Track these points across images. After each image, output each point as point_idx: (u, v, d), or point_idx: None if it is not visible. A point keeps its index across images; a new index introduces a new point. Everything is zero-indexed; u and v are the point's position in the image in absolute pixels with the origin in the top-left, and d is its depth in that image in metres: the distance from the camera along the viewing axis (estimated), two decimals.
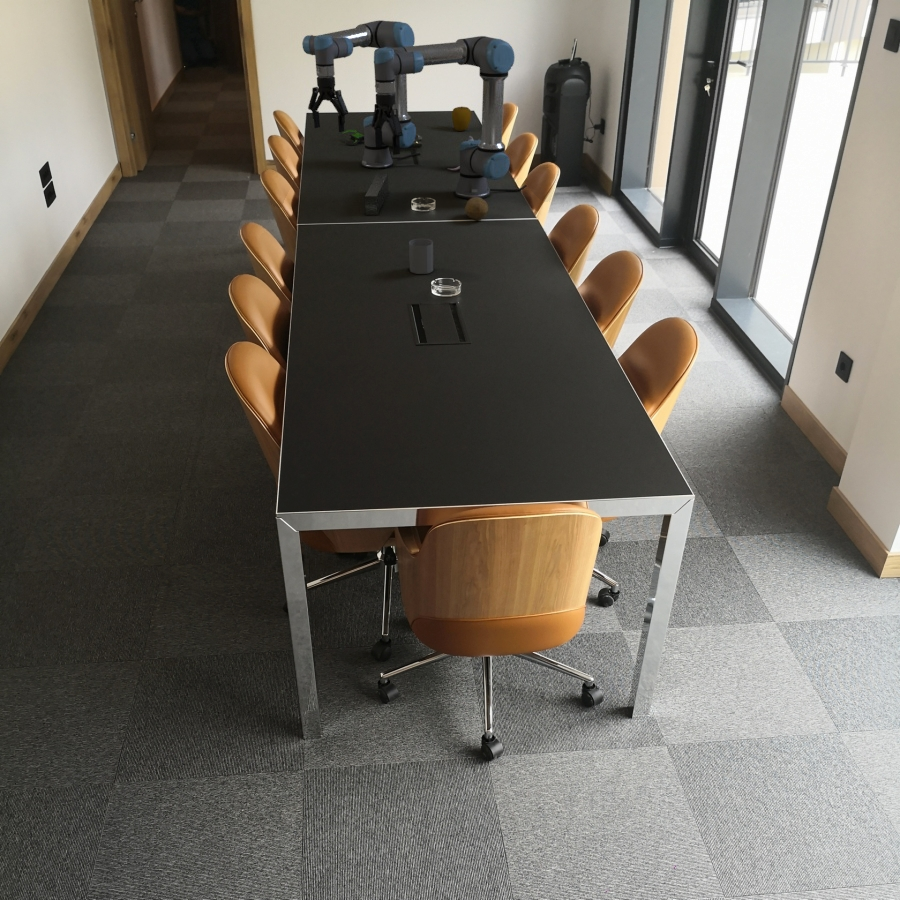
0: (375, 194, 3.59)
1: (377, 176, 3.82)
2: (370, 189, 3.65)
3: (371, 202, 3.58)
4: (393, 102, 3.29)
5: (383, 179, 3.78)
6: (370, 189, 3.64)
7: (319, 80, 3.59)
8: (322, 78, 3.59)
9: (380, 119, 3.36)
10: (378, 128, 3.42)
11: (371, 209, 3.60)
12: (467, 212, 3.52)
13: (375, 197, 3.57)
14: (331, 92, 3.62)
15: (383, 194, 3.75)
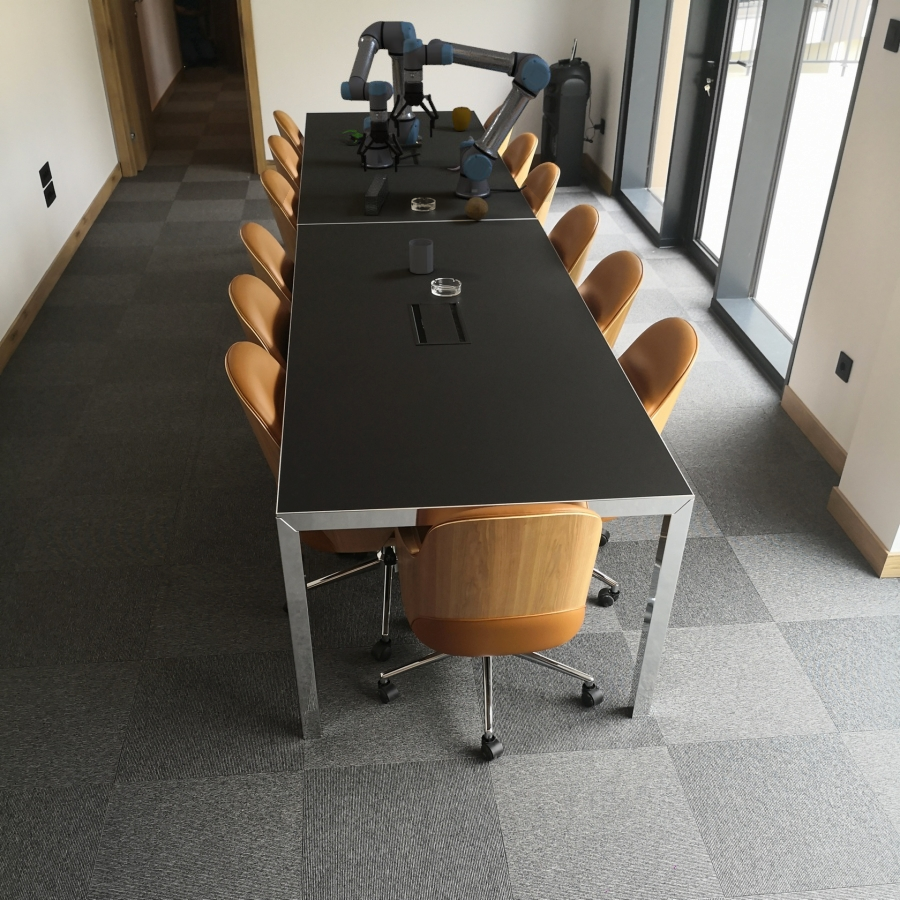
0: (375, 194, 3.59)
1: (377, 176, 3.82)
2: (370, 189, 3.65)
3: (371, 202, 3.58)
4: None
5: (383, 179, 3.78)
6: (370, 189, 3.64)
7: (376, 125, 3.67)
8: (380, 122, 3.67)
9: None
10: None
11: (371, 209, 3.60)
12: (467, 212, 3.52)
13: (375, 197, 3.57)
14: (387, 135, 3.71)
15: (383, 194, 3.75)
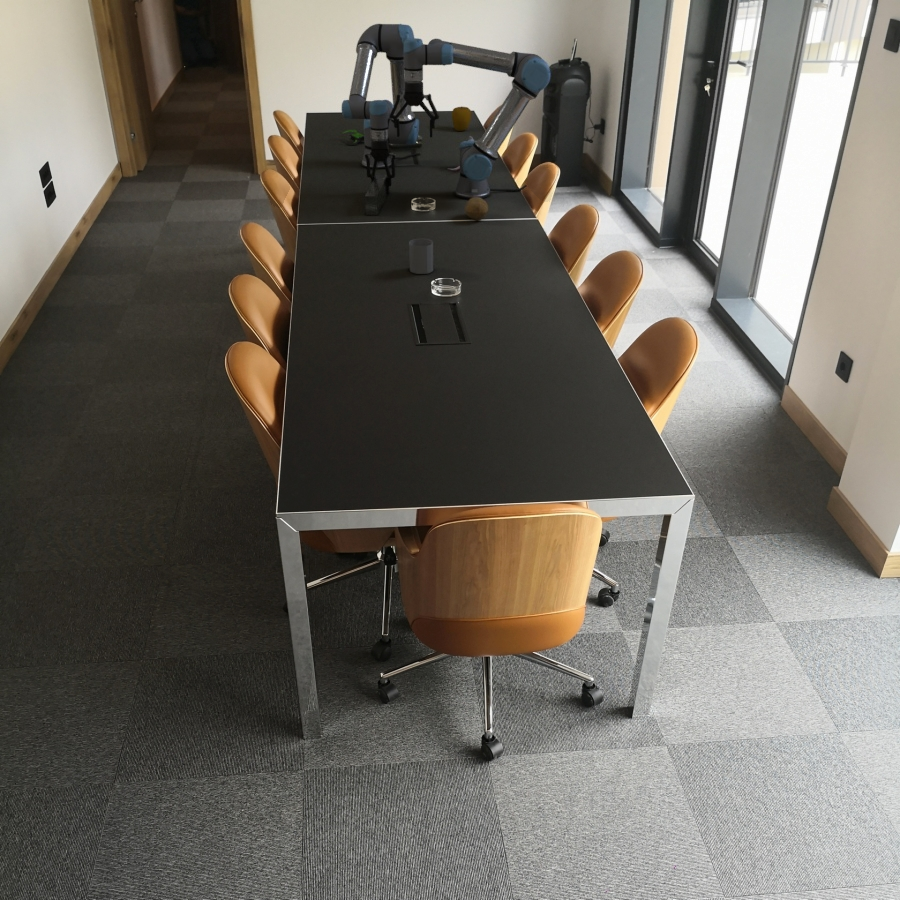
0: (375, 194, 3.59)
1: (377, 176, 3.82)
2: (370, 189, 3.65)
3: (371, 202, 3.58)
4: None
5: (383, 179, 3.78)
6: (370, 189, 3.64)
7: (377, 143, 3.71)
8: (380, 141, 3.71)
9: None
10: None
11: (371, 209, 3.60)
12: (467, 212, 3.52)
13: (375, 197, 3.57)
14: (387, 153, 3.75)
15: (383, 194, 3.75)
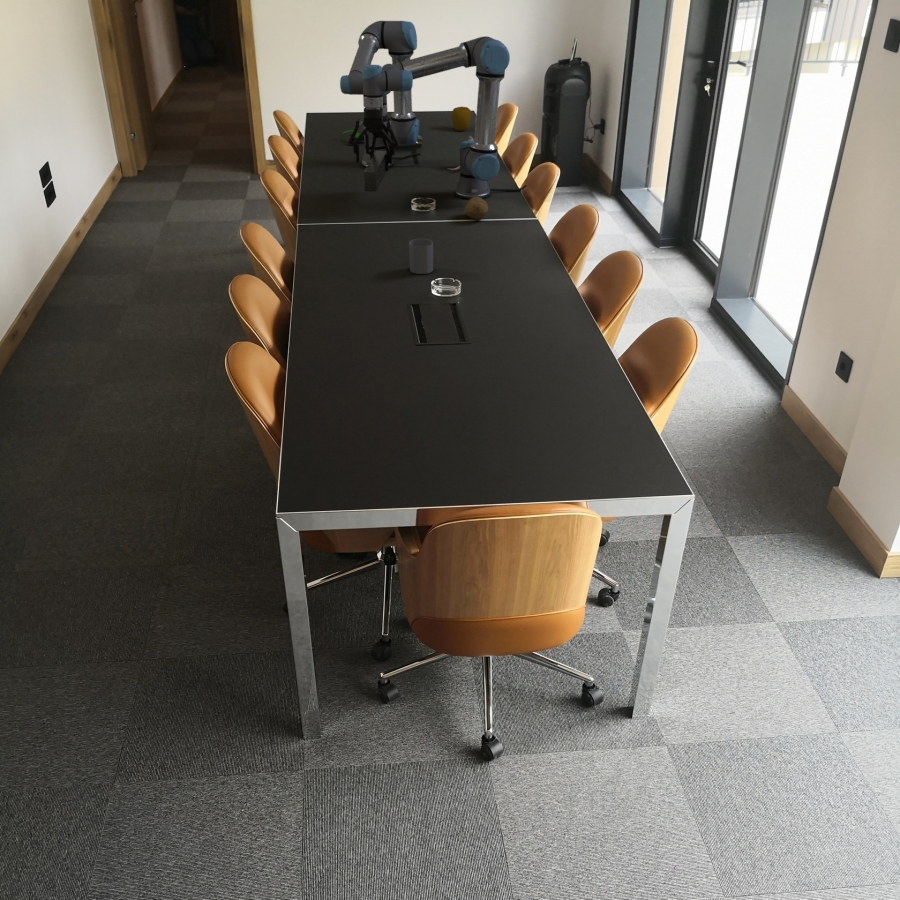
0: (374, 170, 3.53)
1: (376, 153, 3.76)
2: (369, 165, 3.59)
3: (370, 178, 3.53)
4: None
5: (382, 156, 3.72)
6: (369, 165, 3.59)
7: None
8: None
9: None
10: (356, 143, 3.51)
11: (370, 185, 3.54)
12: (467, 212, 3.52)
13: (374, 173, 3.52)
14: (387, 129, 3.70)
15: (382, 171, 3.70)
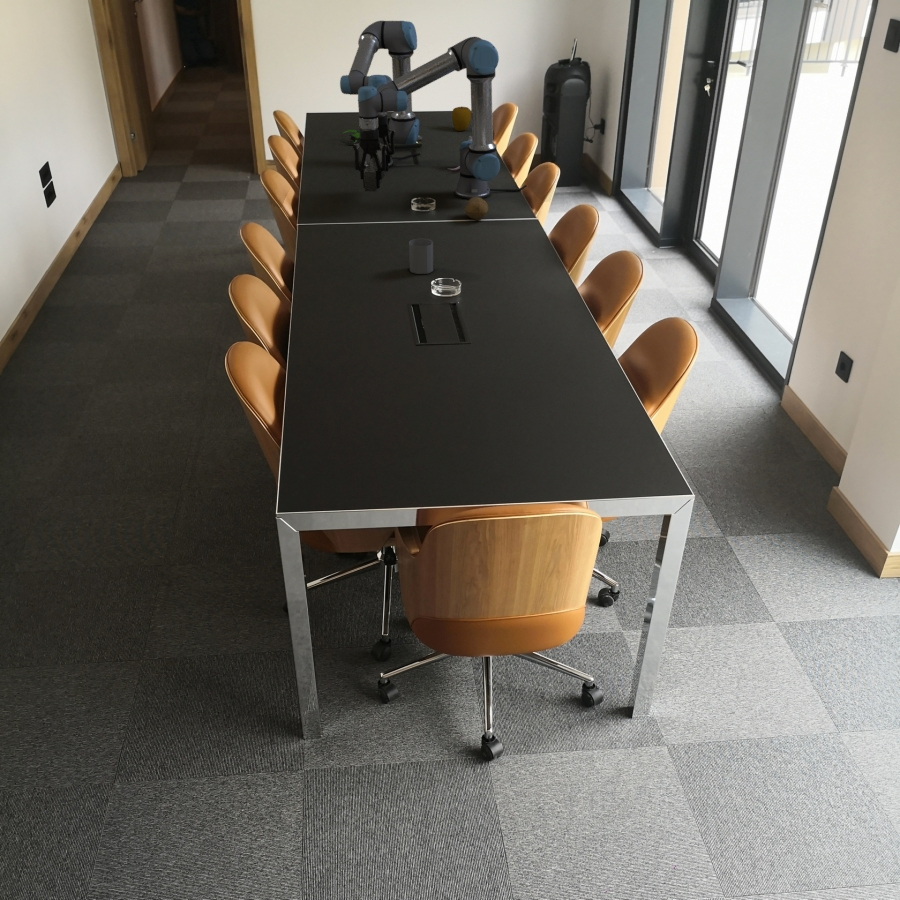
0: (374, 170, 3.53)
1: None
2: (369, 165, 3.59)
3: (370, 178, 3.53)
4: None
5: None
6: (369, 165, 3.59)
7: None
8: (379, 117, 3.65)
9: (365, 156, 3.51)
10: (363, 169, 3.55)
11: (370, 185, 3.54)
12: (467, 212, 3.52)
13: (374, 173, 3.52)
14: (387, 129, 3.70)
15: (382, 171, 3.70)
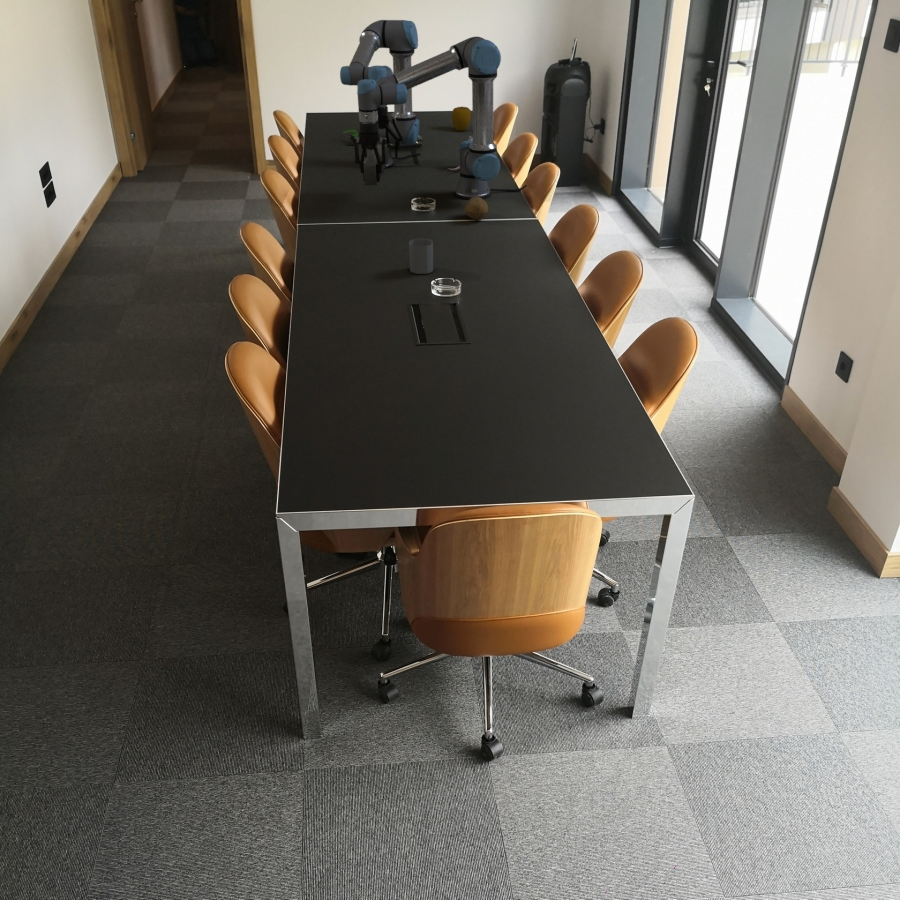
0: (374, 163, 3.52)
1: None
2: (369, 159, 3.58)
3: (370, 171, 3.51)
4: None
5: None
6: (369, 159, 3.58)
7: None
8: (380, 108, 3.65)
9: (365, 150, 3.50)
10: (363, 162, 3.53)
11: (370, 179, 3.53)
12: (467, 212, 3.52)
13: (374, 166, 3.50)
14: (387, 120, 3.69)
15: (382, 164, 3.68)
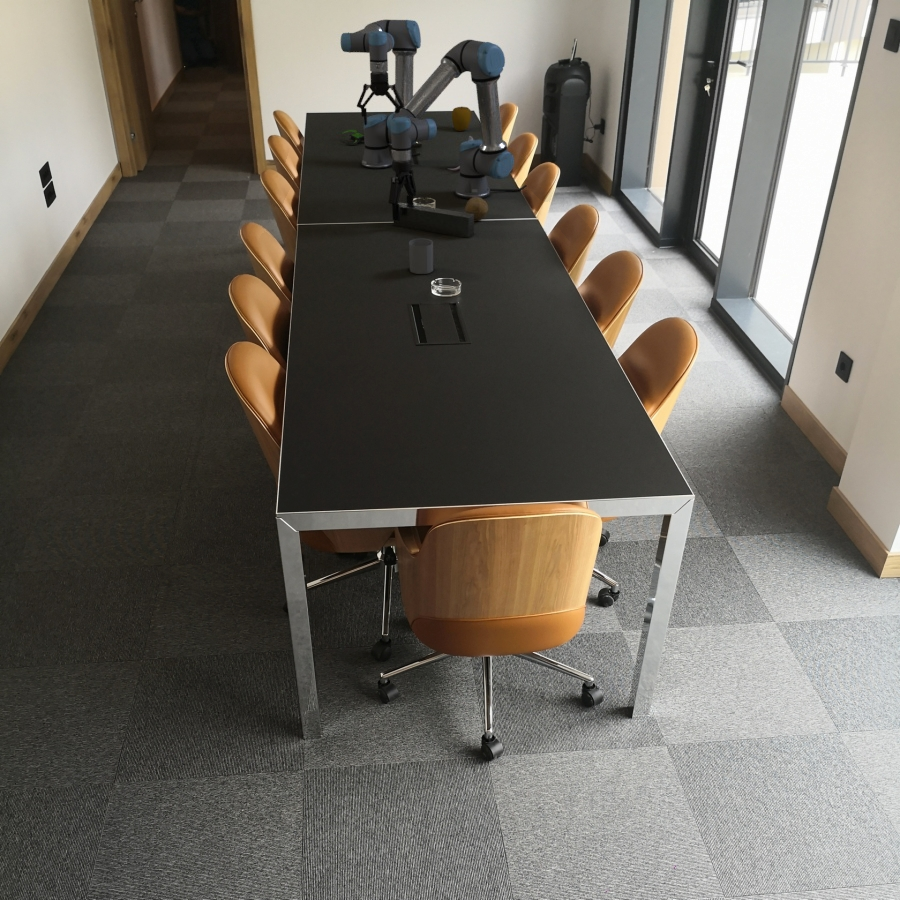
0: (399, 206, 3.45)
1: (463, 213, 3.38)
2: (418, 206, 3.45)
3: None
4: (400, 170, 3.35)
5: (449, 213, 3.37)
6: (417, 206, 3.45)
7: (377, 76, 3.62)
8: (380, 74, 3.62)
9: (405, 184, 3.45)
10: (410, 194, 3.49)
11: None
12: (467, 212, 3.52)
13: None
14: (387, 87, 3.66)
15: (434, 224, 3.41)
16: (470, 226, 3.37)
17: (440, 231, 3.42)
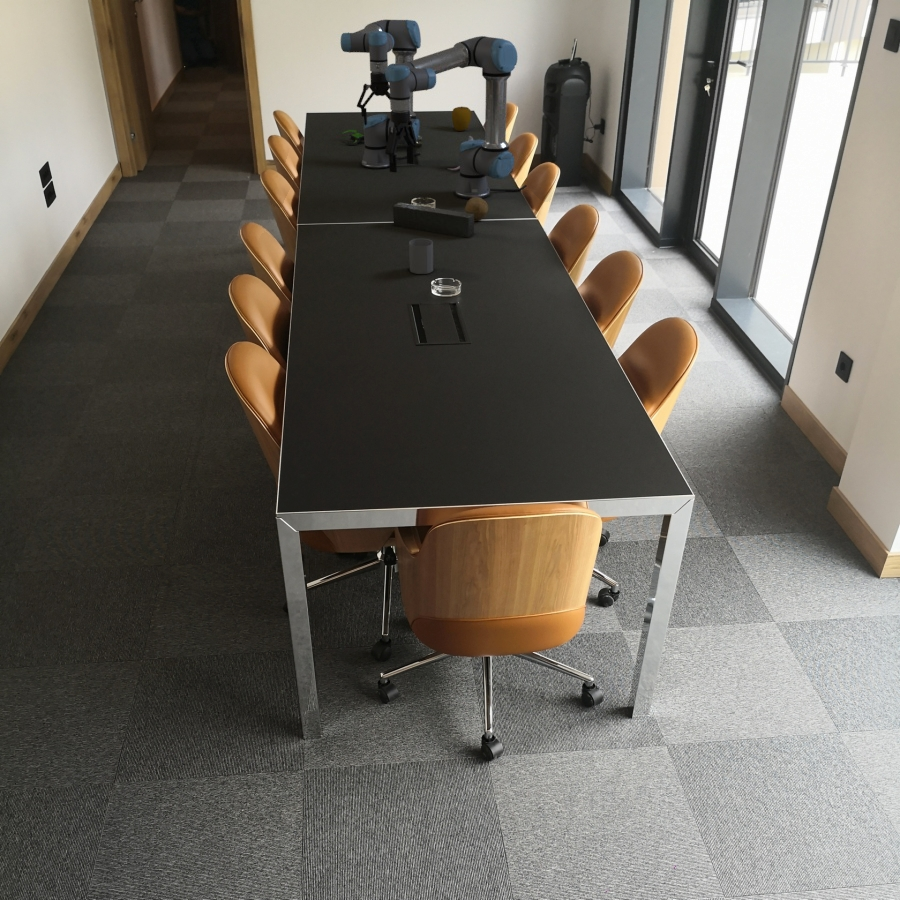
0: (399, 206, 3.45)
1: (463, 213, 3.38)
2: (418, 206, 3.45)
3: None
4: (399, 121, 3.25)
5: (449, 213, 3.37)
6: (417, 206, 3.45)
7: (377, 76, 3.62)
8: (380, 74, 3.62)
9: (404, 136, 3.35)
10: (411, 145, 3.40)
11: None
12: (467, 212, 3.52)
13: None
14: (387, 87, 3.66)
15: (434, 224, 3.41)
16: (470, 226, 3.37)
17: (440, 231, 3.42)
